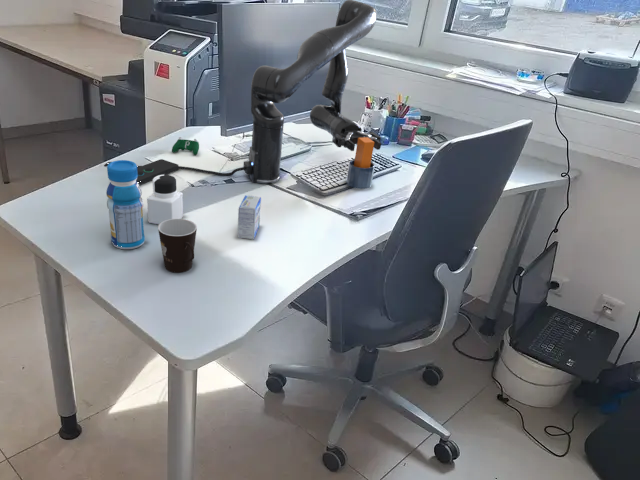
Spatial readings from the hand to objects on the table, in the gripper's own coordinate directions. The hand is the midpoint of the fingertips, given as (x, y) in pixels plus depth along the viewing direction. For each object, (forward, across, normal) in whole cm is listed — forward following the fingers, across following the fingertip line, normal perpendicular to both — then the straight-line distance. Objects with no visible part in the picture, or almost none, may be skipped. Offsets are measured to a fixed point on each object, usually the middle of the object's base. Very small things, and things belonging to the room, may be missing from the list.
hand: (366, 147), depth 167 cm
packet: (-1, 0, +12) cm, 12 cm away
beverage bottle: (+24, -74, +13) cm, 79 cm away
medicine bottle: (+13, -63, +13) cm, 66 cm away
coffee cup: (-1, 0, +12) cm, 13 cm away
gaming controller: (-39, -48, +13) cm, 63 cm away
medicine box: (+24, -43, +13) cm, 51 cm away
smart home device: (-20, -64, +13) cm, 68 cm away
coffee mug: (+39, -64, +13) cm, 76 cm away
